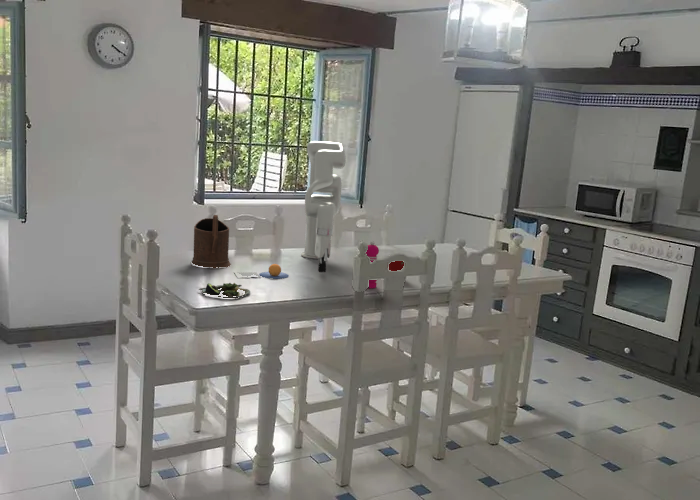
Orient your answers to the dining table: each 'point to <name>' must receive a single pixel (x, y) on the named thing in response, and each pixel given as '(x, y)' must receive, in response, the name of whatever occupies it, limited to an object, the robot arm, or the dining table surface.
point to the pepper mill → (372, 255)
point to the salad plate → (225, 290)
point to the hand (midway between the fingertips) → (321, 271)
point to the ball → (274, 270)
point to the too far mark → (249, 274)
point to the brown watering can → (211, 243)
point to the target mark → (267, 275)
